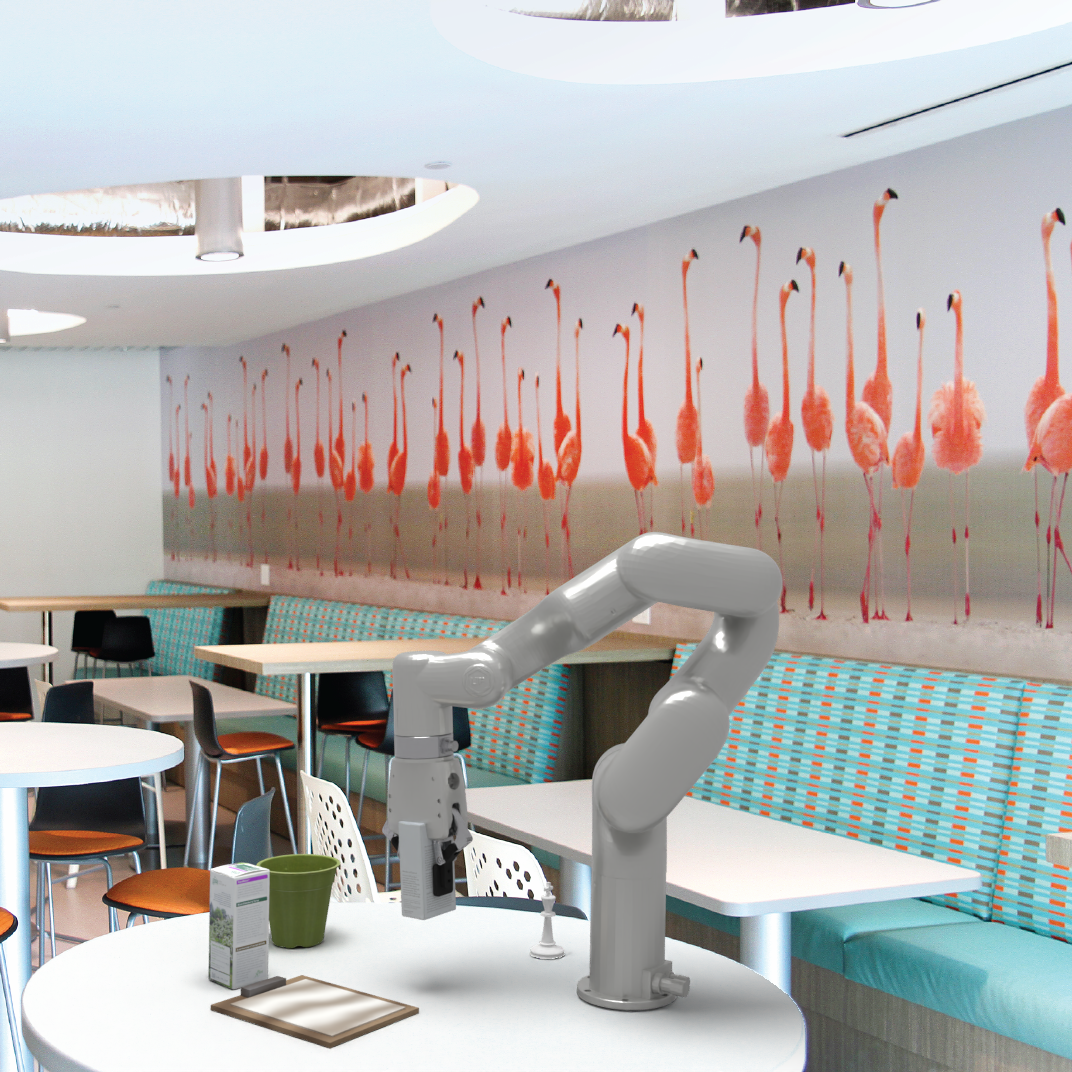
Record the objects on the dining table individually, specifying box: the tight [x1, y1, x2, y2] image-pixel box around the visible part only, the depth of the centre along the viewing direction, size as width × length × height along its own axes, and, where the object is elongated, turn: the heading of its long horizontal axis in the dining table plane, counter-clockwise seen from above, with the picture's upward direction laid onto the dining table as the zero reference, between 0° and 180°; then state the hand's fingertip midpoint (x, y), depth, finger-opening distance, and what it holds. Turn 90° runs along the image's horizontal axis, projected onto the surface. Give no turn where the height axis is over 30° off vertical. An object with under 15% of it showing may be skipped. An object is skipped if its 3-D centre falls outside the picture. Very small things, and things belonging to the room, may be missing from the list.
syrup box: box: [208, 862, 270, 990], centre depth 167 cm, size 6×6×14 cm
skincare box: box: [398, 821, 457, 921], centre depth 166 cm, size 6×4×12 cm
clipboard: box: [210, 974, 420, 1049], centre depth 156 cm, size 20×15×2 cm
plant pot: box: [255, 853, 341, 949], centre depth 185 cm, size 12×12×11 cm
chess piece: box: [529, 881, 566, 960], centre depth 182 cm, size 5×5×10 cm
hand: (427, 890), depth 165 cm, fingers closed on skincare box, 4 cm apart
